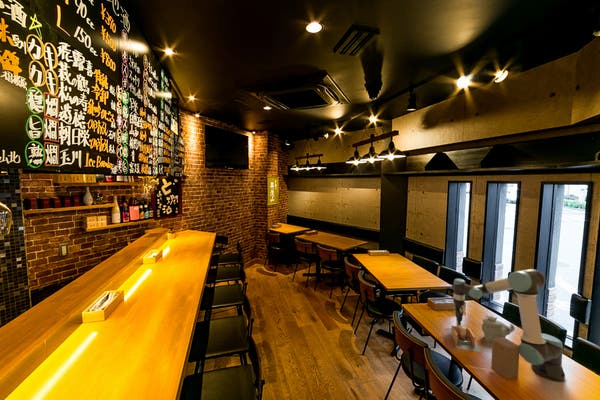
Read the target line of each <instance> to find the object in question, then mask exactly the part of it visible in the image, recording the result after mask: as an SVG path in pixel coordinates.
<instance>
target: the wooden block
mask: <svg viewBox="0 0 600 400" xmlns="http://www.w3.org/2000/svg"><path fill="white" fill-rule="evenodd" d="M491 344H492V345H491V364H490V365H491V367H490V368H491V369H492V371H493V372H495V373H497V374H498V375H499V376H501V377H502V378H504V379H505V380H510V379H513V378H517V377H518V376H519V368H520V367H519V365H520V364H519V363H520V354H519V349H520V347H519V344H517V343H515V342H513V341H511V340H509V339H508V338H506V337H505V338H504V337H502V338H497V339H493V340H492V342H491Z"/></svg>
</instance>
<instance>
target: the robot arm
mask: <svg viewBox="0 0 600 400" xmlns="http://www.w3.org/2000/svg"><path fill="white" fill-rule="evenodd" d="M545 284H546V277H545V275H544V274H543V273H542V272H540V270H537V269H534V268H528V269H523V270H516V271H513V272H511V273H510V274H509V275H508V277H506V278H503V279H497V280H493V281H489V282H485V283H480V284H476V285H469V284H467V283H466V280H464V279H462V278H455V279H454V280H453V304H454V310H455V311H454V312H455V318H456V319H455V320H456V323H455V325H456V326H457V327H459V326H462V321H463V315H464V311H463V306H465V305H466V303H465V301H466V296H469V297H471V298H473V299H475V300H480V298H482V296H484V295H489V294H495V293H500V292H504V291H505V292H506V291H510V290H512V291H513V293H514V294H515V295H516V296H517V302H518V307H519V314H520V315H519V316H520V322H521V330H522V334H521V335H520V336H519V337H520V343H519V344H518V345H519V347H520V349H519V356H520V357H521V358H523V360H524V361H526V362H527V363H529V364H530V367H531V369H532V371H533V372H534V373H535V374H538V375H539V376H540V377H543V378H545V379H546V380H548V381H549V380H550V381H554V382H561V383H562V382H564V381H565V380H566V374H565V372H564V368H563V364H562V362H563V352H564V351H563V350H564V347H563V346H564V345H563V344H564V343H563V342H562V341H561V339H558V337H555V336H553V335H550V334H547V333H542V329H541V323H540V318H539V317H540V316H539V312H538V311H539V310H538V304H537V303H538V302H537V296H538V295H539V288H542V287H543V286H544V285H545Z"/></svg>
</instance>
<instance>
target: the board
mask: <svg viewBox="0 0 600 400" xmlns="http://www.w3.org/2000/svg"><path fill="white" fill-rule="evenodd" d="M451 329H452V327H446V330H447V332H448V334H449V336H450V338H451V340H452V342H453V344H454V346H455V348H456V349H458V350H464V351H465V350H466V351H472V352H476V353H477V352H478V353H483V351H482V349H481V348H480V346H479V345H478V343H477V341H476V340H475V347H474V346H473V345H472V344H471V345H468V344H461V343H457V344H456V343H455V341H454V339H453V337H452V335H451ZM468 339H469V338H468ZM466 341H467V340H466Z"/></svg>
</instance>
